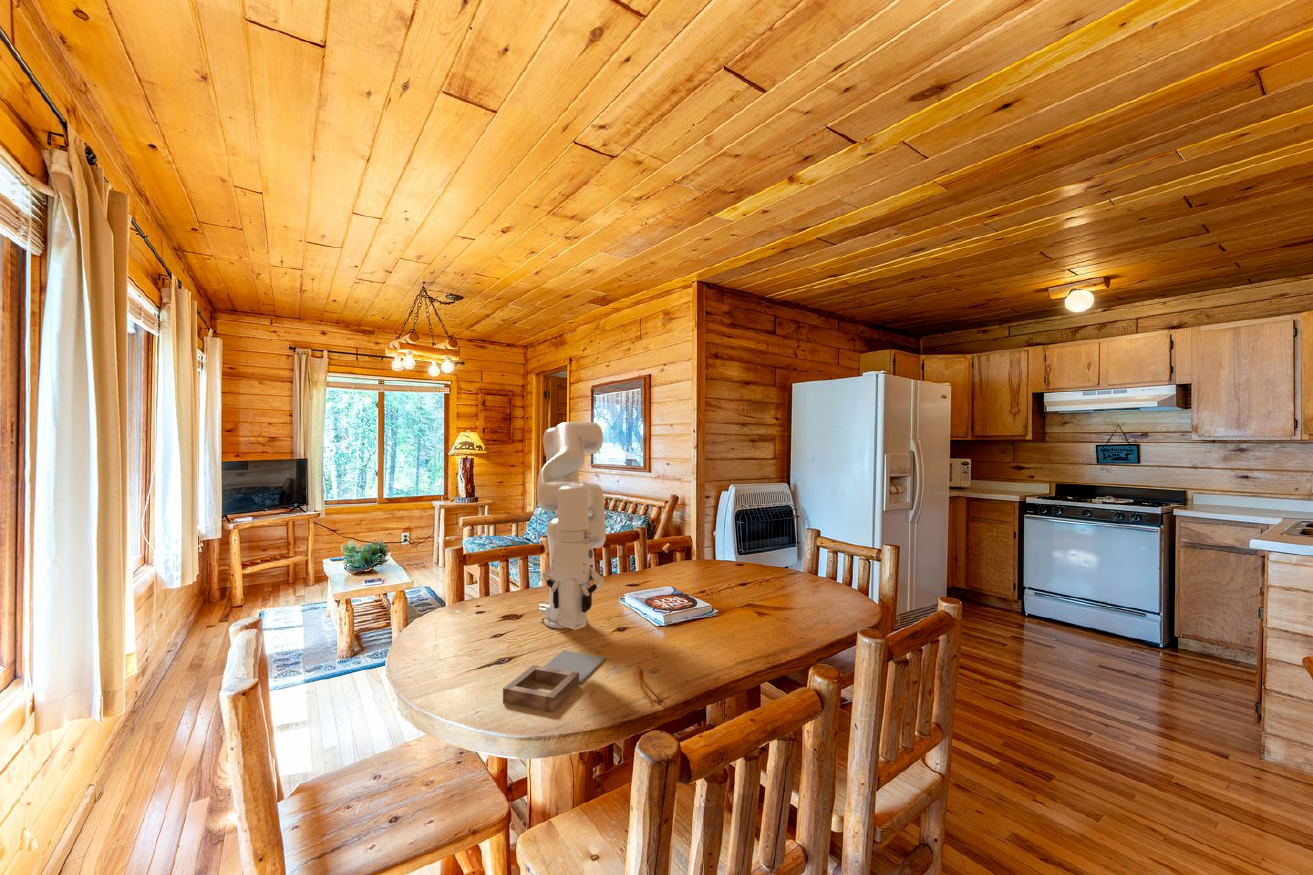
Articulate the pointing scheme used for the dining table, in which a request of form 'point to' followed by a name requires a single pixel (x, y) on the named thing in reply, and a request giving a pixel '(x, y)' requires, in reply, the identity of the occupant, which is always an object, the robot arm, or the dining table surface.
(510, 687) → the square box holder
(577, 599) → the skincare box
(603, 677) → the dining table surface
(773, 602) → the dining table surface
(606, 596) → the dining table surface
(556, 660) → the rubber mat
